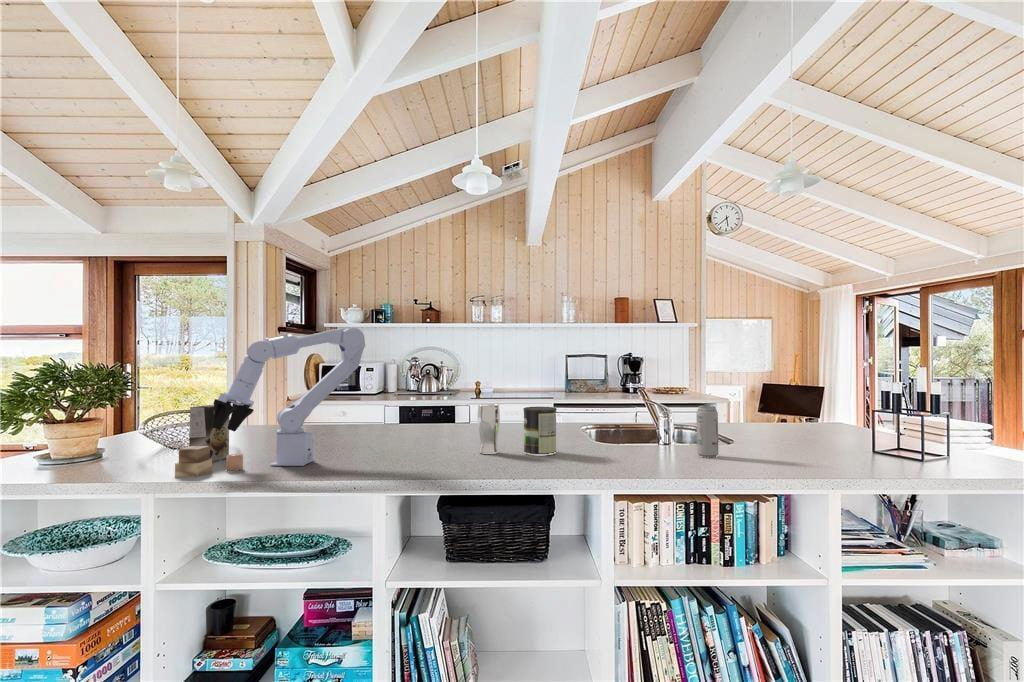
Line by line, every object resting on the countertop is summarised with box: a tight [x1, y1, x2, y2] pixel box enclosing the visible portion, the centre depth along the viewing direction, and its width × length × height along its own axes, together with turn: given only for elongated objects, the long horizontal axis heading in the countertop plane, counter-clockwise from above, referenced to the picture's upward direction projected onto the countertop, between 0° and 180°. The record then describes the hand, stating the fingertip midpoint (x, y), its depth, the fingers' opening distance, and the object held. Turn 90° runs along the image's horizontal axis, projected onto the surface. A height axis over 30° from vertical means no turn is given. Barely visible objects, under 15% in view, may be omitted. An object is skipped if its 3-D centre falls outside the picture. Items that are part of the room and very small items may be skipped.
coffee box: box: [188, 404, 230, 463], centre depth 160 cm, size 9×6×16 cm
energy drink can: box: [696, 405, 719, 458], centre depth 163 cm, size 6×6×15 cm
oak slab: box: [174, 459, 213, 478], centre depth 142 cm, size 6×6×4 cm
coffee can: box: [522, 406, 557, 454], centre depth 170 cm, size 10×10×14 cm
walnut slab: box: [178, 446, 210, 463], centre depth 142 cm, size 5×5×4 cm
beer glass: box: [477, 403, 501, 453], centre depth 171 cm, size 7×7×15 cm
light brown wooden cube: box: [225, 453, 244, 472], centre depth 147 cm, size 4×4×4 cm
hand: (223, 429), depth 148 cm, fingers open, 7 cm apart
